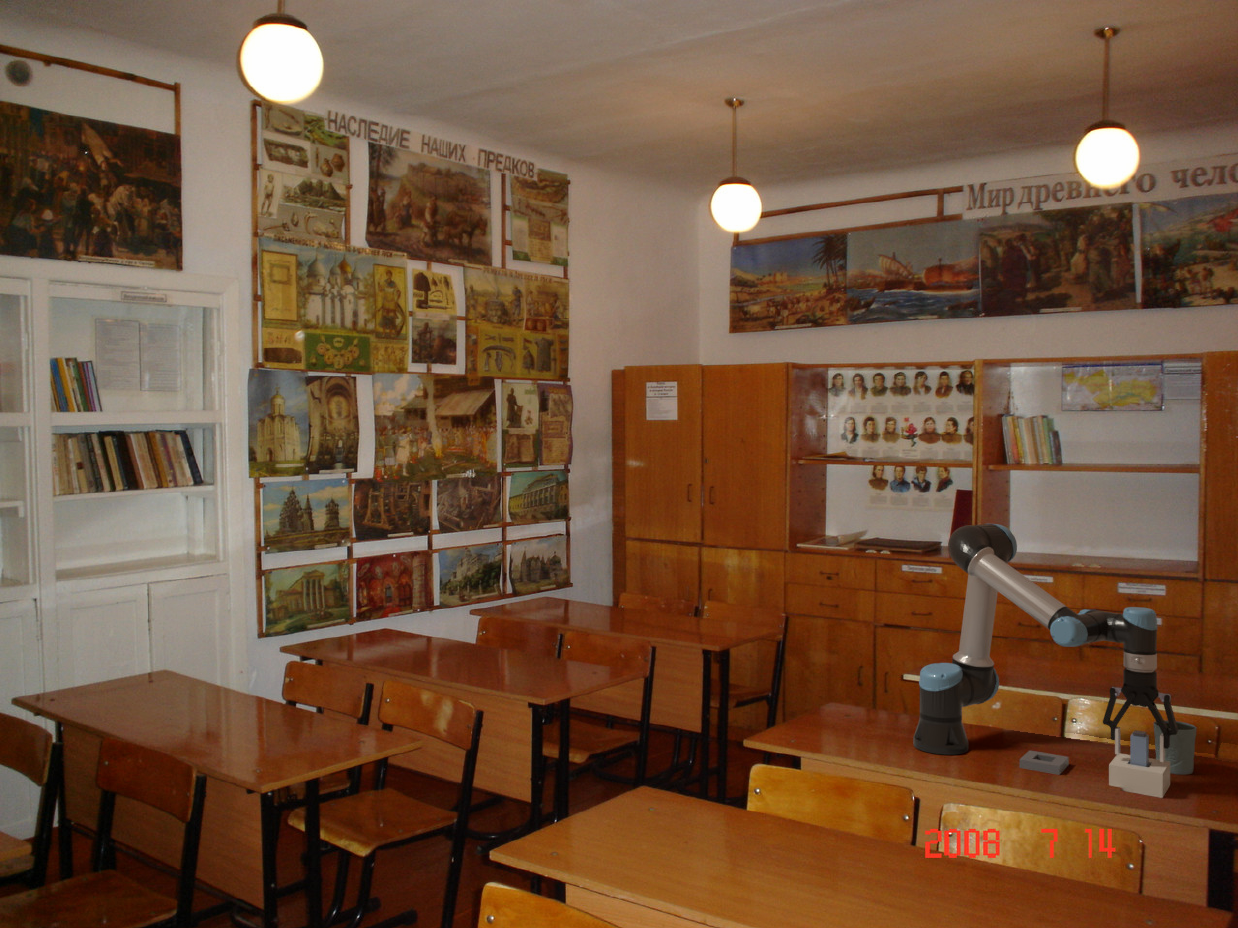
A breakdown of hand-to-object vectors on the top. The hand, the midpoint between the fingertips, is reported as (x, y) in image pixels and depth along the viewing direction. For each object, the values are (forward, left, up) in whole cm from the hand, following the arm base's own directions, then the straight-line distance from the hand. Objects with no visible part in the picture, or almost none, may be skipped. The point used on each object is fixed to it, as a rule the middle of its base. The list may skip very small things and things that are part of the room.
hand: (1139, 756), depth 250 cm
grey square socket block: (-23, 0, -8) cm, 24 cm away
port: (0, 0, -8) cm, 8 cm away
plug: (0, 0, -6) cm, 6 cm away
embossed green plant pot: (+5, +21, -8) cm, 23 cm away
